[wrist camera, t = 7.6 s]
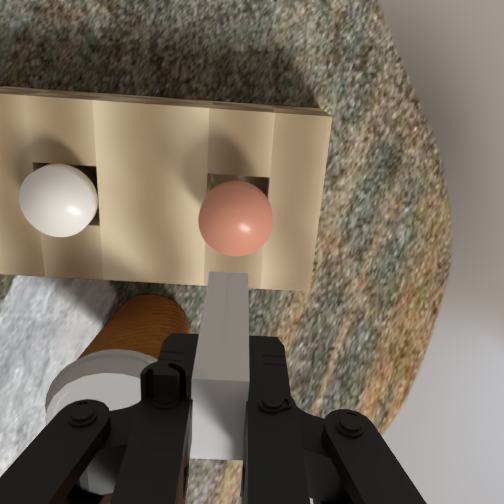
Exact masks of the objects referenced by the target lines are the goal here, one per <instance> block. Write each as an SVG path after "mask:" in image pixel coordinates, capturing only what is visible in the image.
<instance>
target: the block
mask: <svg viewBox="0 0 504 504" xmlns="http://www.w3.org/2000/svg"><path fill="white" fill-rule="evenodd" d="M331 123H332V116H330V115H329V114H328V113H326V112H325V111H323V110H322V109H320V108H307V107H293V106H278V105H264V104H250V103H236V102H221V101H207V100H193V99H178V98H164V97H150V96H136V95H121V94H107V93H93V92H79V91H64V90H50V89H36V88H22V87H7V86H4V87H0V274H8V275H26V276H44V277H61V278H79V279H97V280H115V281H132V282H150V283H168V284H185V285H203V286H207V284H208V278H209V272H210V271H212V272H230V273H248V288H256V289H274V290H292V291H310V285H311V277H312V269H313V262H314V254H315V246H316V239H317V231H318V223H319V215H320V208H321V200H322V192H323V184H324V177H325V169H326V161H327V154H328V146H329V138H330V130H331ZM55 163H60V164H66V165H70V166H72V167H85V168H88V169H90V170H91V171H92V172H94V174H95V175H96V176H97V184H98V192H97V196H98V208H97V212H96V214H95V216H94V218H93V219H92V220H91V222H90V223H89V224H88V225H87V226H86V227H85V228H84V229H83V230H82V231H80V232H79V233H77V234H75V235H72V236H69V237H54V236H50V235H47V234H44V233H42V232H40V231H39V230H37V229H36V228H35V227H33V226H32V225H31V224H30V223H29V222H28V220H27V219H26V218H25V216H24V215H23V212H22V210H21V207H20V203H19V191H20V187H21V185H22V183H23V181H24V180H25V178H26V177H27V176H28V175H29V174H31V173H32V172H34V171H36V170H38V169H39V168H41V167H43V166H46V165H49V164H55ZM227 181H244V182H248V183H250V184H253V185H254V186H256V187H257V188H259V189H260V190H261V191H262V192H263V193H264V194H265V195H266V197H267V199H268V200H269V203H270V206H271V210H272V216H273V226H272V231H271V234H270V236H269V238H268V240H267V241H266V242H265V244H264V245H263V246H262V247H261V248H259V249H258V250H257V251H255V252H253V253H251V254H248V255H244V256H228V255H224V254H221V253H219V252H217V251H215V250H214V249H212V248H211V247H210V246H209V245H208V244H207V243H206V242H205V240H204V239H203V237H202V235H201V233H200V230H199V225H198V217H199V212H200V208H201V205H202V202H203V200H204V198H205V196H206V195H207V194H208V192H209V191H210V190H211V189H213V188H214V187H215V186H217V185H219V184H221V183H224V182H227Z"/></svg>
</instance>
